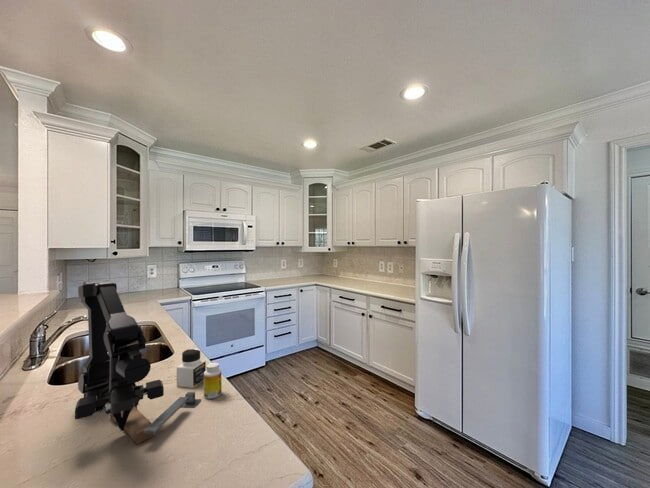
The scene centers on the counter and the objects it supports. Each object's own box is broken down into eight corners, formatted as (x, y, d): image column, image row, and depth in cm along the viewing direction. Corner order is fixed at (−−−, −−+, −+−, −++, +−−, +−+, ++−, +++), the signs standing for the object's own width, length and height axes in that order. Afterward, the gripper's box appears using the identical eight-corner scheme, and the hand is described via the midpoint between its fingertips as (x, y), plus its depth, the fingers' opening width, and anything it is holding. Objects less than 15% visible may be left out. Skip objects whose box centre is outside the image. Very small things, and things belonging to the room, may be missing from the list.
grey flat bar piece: (139, 446, 71) (139, 430, 71) (186, 400, 92) (186, 388, 92) (158, 446, 70) (158, 431, 70) (201, 400, 91) (200, 388, 91)
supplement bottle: (221, 397, 93) (221, 366, 93) (203, 400, 91) (203, 369, 91) (221, 389, 98) (221, 360, 98) (204, 392, 96) (204, 362, 96)
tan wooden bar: (110, 416, 83) (110, 407, 83) (131, 408, 87) (130, 400, 87) (134, 445, 70) (134, 435, 70) (156, 434, 75) (156, 424, 75)
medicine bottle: (193, 388, 99) (193, 354, 99) (176, 386, 101) (175, 353, 101) (206, 378, 106) (205, 347, 106) (189, 377, 108) (189, 346, 108)
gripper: (72, 394, 63) (71, 464, 63) (166, 372, 74) (165, 432, 74) (78, 375, 72) (76, 437, 72) (161, 359, 83) (160, 412, 83)
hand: (122, 429), depth 75 cm, fingers closed
